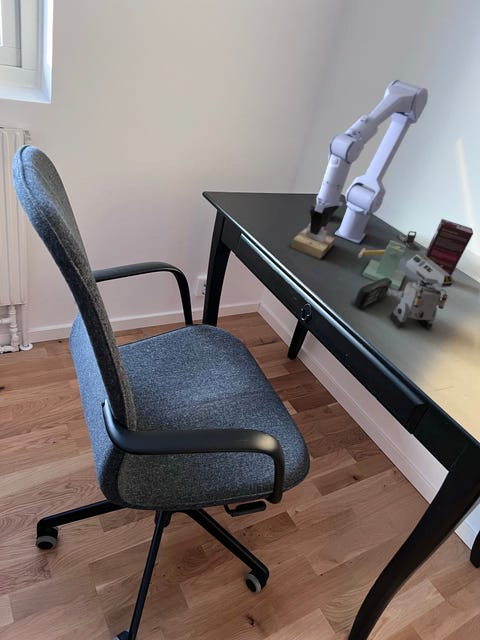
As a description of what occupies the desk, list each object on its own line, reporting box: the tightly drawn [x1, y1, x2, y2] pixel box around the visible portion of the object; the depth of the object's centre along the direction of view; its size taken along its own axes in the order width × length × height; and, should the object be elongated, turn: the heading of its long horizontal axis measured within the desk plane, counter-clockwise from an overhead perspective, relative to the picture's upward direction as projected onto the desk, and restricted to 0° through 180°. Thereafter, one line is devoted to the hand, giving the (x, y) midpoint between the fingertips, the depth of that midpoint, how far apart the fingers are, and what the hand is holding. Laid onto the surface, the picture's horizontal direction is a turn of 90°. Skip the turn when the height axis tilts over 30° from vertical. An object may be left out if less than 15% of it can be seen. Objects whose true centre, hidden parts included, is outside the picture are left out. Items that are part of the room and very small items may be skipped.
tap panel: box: [290, 226, 336, 260], centre depth 133 cm, size 12×10×3 cm
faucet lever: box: [357, 246, 401, 259], centre depth 126 cm, size 10×6×2 cm, turn 63°
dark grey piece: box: [353, 278, 392, 309], centre depth 114 cm, size 5×3×15 cm
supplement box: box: [424, 218, 474, 276], centre depth 131 cm, size 9×5×16 cm, turn 71°
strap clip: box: [398, 230, 419, 250], centre depth 152 cm, size 8×3×4 cm, turn 15°
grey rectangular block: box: [305, 222, 329, 243], centre depth 131 cm, size 6×2×4 cm, turn 64°
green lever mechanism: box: [362, 239, 407, 291], centre depth 125 cm, size 10×10×9 cm
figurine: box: [387, 253, 455, 329], centre depth 107 cm, size 9×12×15 cm
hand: (317, 229), depth 131 cm, fingers open, 7 cm apart
